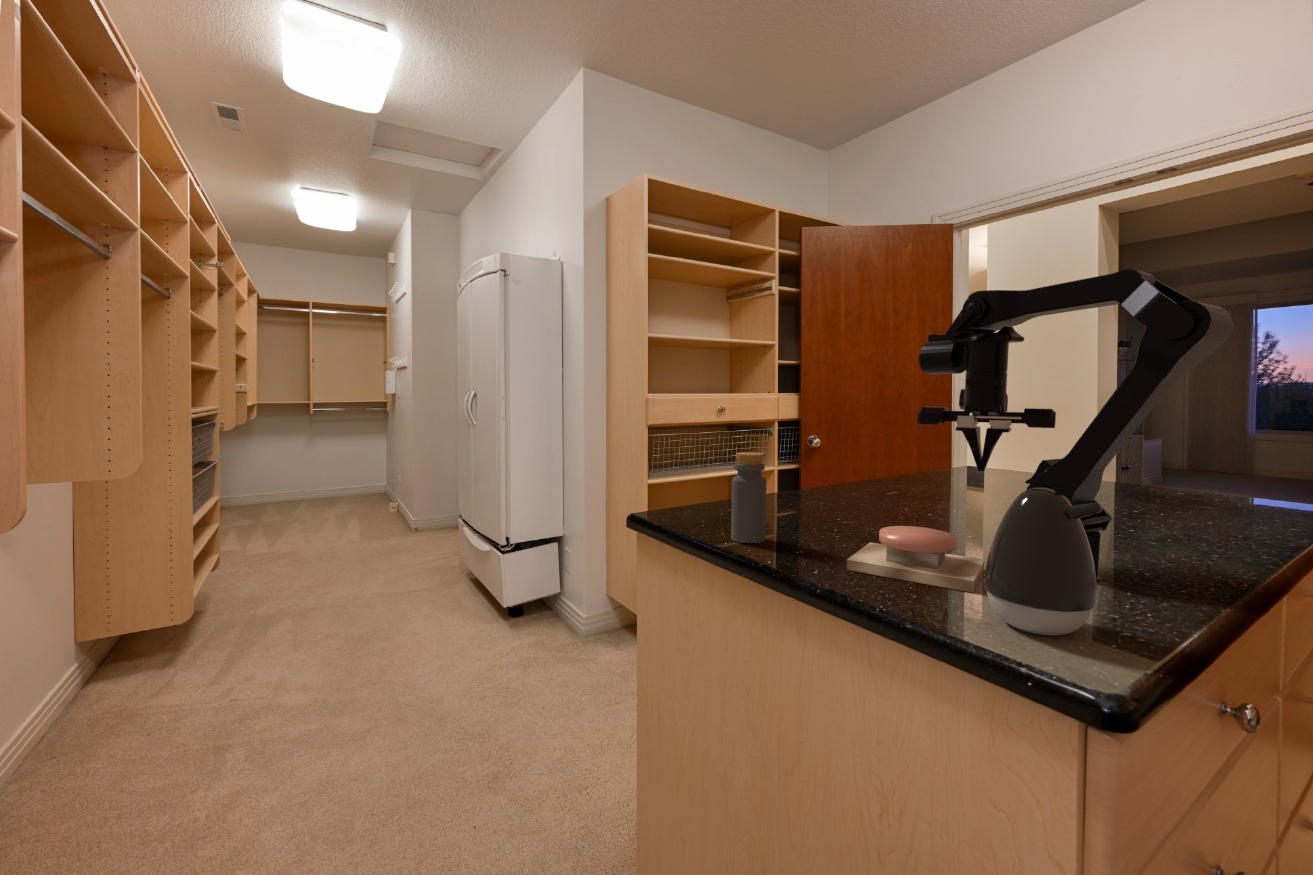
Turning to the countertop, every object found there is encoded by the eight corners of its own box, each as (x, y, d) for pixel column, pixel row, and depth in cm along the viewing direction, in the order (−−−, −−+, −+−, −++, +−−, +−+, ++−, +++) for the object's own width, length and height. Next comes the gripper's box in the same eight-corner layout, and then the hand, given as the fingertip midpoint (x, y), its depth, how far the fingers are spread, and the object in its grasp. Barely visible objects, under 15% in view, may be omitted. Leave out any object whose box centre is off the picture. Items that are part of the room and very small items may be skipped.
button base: (984, 569, 83) (985, 545, 82) (973, 592, 73) (974, 565, 73) (869, 551, 92) (870, 529, 92) (846, 569, 82) (847, 545, 82)
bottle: (765, 545, 95) (767, 455, 94) (729, 543, 96) (731, 454, 95) (765, 536, 101) (767, 452, 100) (732, 535, 102) (733, 451, 101)
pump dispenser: (1067, 655, 55) (1076, 499, 54) (962, 619, 64) (969, 484, 63) (1115, 634, 60) (1125, 491, 59) (1012, 602, 69) (1019, 478, 68)
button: (960, 555, 83) (961, 532, 83) (949, 572, 75) (950, 546, 75) (888, 544, 89) (889, 523, 89) (870, 559, 81) (871, 535, 81)
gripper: (1058, 373, 92) (1053, 470, 93) (931, 375, 103) (927, 462, 104) (1057, 371, 83) (1051, 478, 84) (918, 373, 93) (914, 468, 95)
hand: (981, 470), depth 92 cm, fingers closed
